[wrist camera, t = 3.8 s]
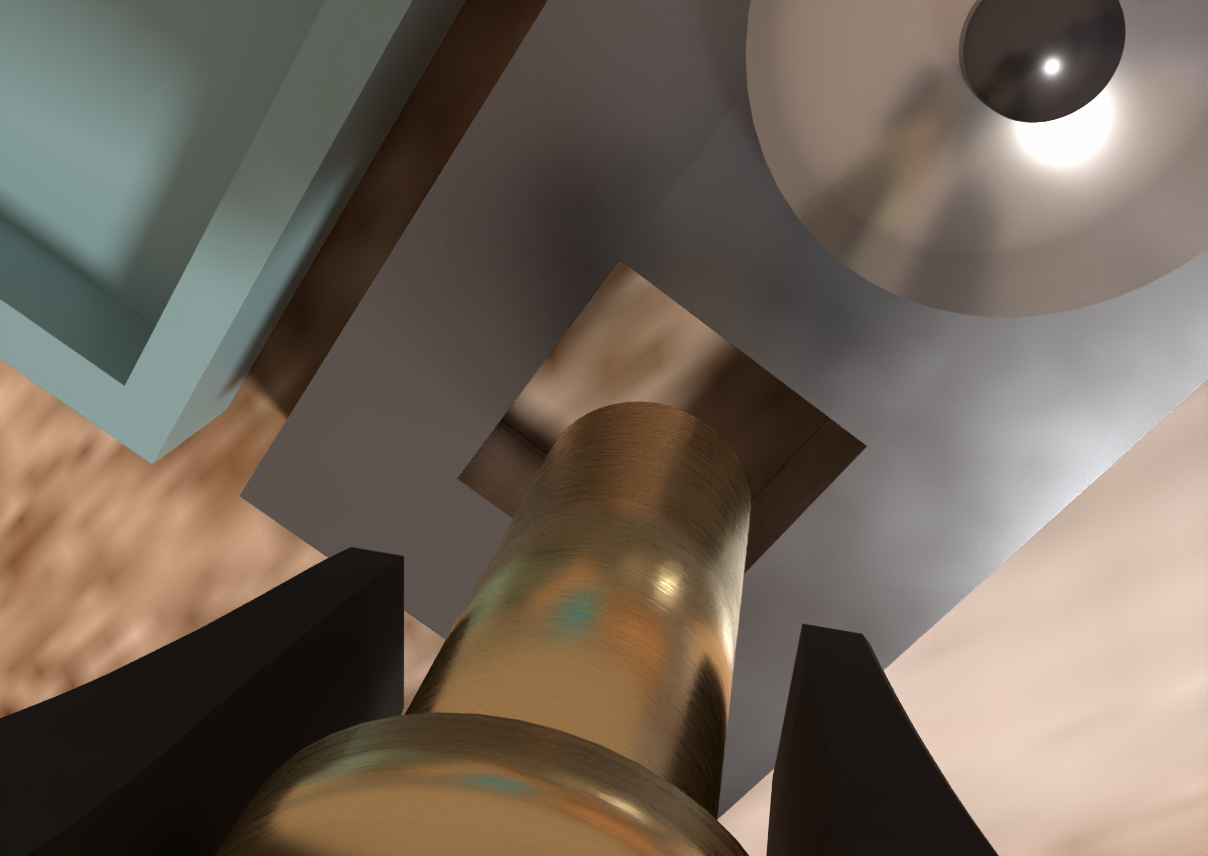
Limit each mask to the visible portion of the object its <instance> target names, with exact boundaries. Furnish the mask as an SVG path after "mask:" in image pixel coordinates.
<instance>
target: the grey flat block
mask: <svg viewBox="0 0 1208 856" xmlns="http://www.w3.org/2000/svg"><path fill="white" fill-rule="evenodd" d="M619 260H621V261H622V262H624V263H625V264H626V265H628V266H629V267H630V268H632V269H633V270H634V271H636V272H637V273H638V274H640V275H641V276H642V277H644V278H645V279H646V280H648V281H649V282H650V283H652V284H653V285H654V286H656V287H657V288H658V289H660V290H661V291H662V292H663V293H665V294H666V295H667V296H669V297H670V298H671V299H673V300H674V301H675V302H677V303H678V304H679V305H681V306H682V307H683V308H685V309H686V310H687V311H689V312H690V313H691V314H693V315H694V316H695V317H697V318H698V319H699V320H701V321H702V322H703V323H705V324H706V325H707V326H709V327H710V328H711V329H713V330H714V331H715V332H717V333H718V334H719V335H721V336H722V337H723V338H724V339H726V340H727V341H728V342H730V343H731V344H732V345H734V346H735V347H736V348H738V349H739V350H740V351H742V352H743V353H744V354H746V355H747V356H748V357H750V358H751V359H752V360H754V361H755V362H756V363H758V364H759V365H760V366H762V367H763V368H764V369H766V370H767V371H768V372H770V373H771V374H772V375H774V376H775V377H776V378H778V379H779V380H780V381H781V382H783V383H784V384H785V385H787V386H788V387H789V388H791V389H792V390H793V391H795V392H796V393H797V394H799V395H800V396H801V397H803V398H804V399H805V400H807V401H808V402H809V403H811V404H812V405H813V406H815V407H816V408H817V409H819V410H820V411H821V412H823V413H824V414H825V415H827V416H828V417H829V419H828V420H827V421H826V422H825V423H824V424H823V426H822V427H821V428H820V429H819V430H818V431H817V432H816V433H815V434H814V435H813V436H812V437H811V438H810V440H809V441H808V442H807V443H806V444H805V445H804V446H803V447H802V448H801V449H800V450H799V451H798V453H797V454H796V455H795V456H794V457H793V458H792V459H791V460H790V461H789V462H788V463H787V464H786V465H785V467H784V468H783V469H782V470H781V471H780V472H779V473H778V474H777V475H776V476H775V477H774V478H773V480H772V481H771V482H770V483H769V484H768V485H767V486H766V487H765V488H764V489H763V490H762V491H761V492H760V494H759V495H758V496H757V497H756V498H755V499H754V500H753V501H752V502H751V512H750V522H749V531H748V541H747V550H746V559H745V568H744V577H743V587H742V596H741V605H740V614H739V623H738V633H737V642H736V651H735V660H734V670H733V679H732V688H731V697H730V706H729V716H728V725H727V734H726V743H725V752H724V762H723V771H722V780H721V789H720V799H719V808H718V817H717V819H718V818H720V817H721V816H722V815H723V814H724V813H725V812H726V811H727V810H728V809H730V808H731V807H732V806H733V805H734V804H735V803H736V802H737V801H738V800H740V799H741V798H742V797H743V796H744V795H745V794H746V793H747V792H748V791H750V790H751V789H752V788H753V787H754V786H755V785H756V784H757V783H758V782H760V781H761V780H762V779H763V778H764V777H765V776H766V775H767V774H769V773H770V772H771V771H772V770H773V769H774V768H775V763H776V758H777V753H778V747H779V742H780V737H781V732H782V726H783V721H784V716H785V711H786V706H787V700H788V695H789V690H790V685H791V679H792V674H793V669H794V664H795V658H796V653H797V648H798V643H799V637H800V632H801V627H802V623H803V624H809V625H814V626H820V627H826V628H832V629H838V630H844V631H850V632H856V633H862V634H863V635H864V637H865V638H866V639H867V641H868V642H869V643H870V645H871V646H872V649H873V651H874V653H875V655H876V657H877V659H878V661H879V663H880V665H881V667H882V669H883V670H884V669H885V668H887V667H888V666H889V665H890V664H891V663H892V662H893V661H894V660H895V659H897V658H898V657H899V656H900V655H901V654H902V653H903V652H904V651H905V650H907V649H908V648H909V647H910V646H911V645H912V644H913V643H914V642H915V641H917V640H918V639H919V638H920V637H921V636H922V635H923V634H924V633H926V632H927V631H928V630H929V629H930V628H931V627H932V626H933V625H934V624H936V623H937V622H938V621H939V620H940V619H941V618H942V617H943V616H944V615H946V614H947V613H948V612H949V611H950V610H951V609H952V608H953V607H954V606H956V605H957V604H958V603H959V602H960V601H961V600H962V599H963V598H964V597H966V596H967V595H968V594H969V593H970V592H971V591H972V590H973V589H975V588H976V587H977V586H978V585H979V584H980V583H981V582H982V581H983V580H985V579H986V578H987V577H988V576H989V575H990V574H991V573H992V572H993V571H995V570H996V569H997V568H998V567H999V566H1000V565H1001V564H1002V563H1003V562H1005V561H1006V560H1007V559H1008V558H1009V557H1010V556H1011V555H1012V554H1013V553H1015V552H1016V551H1017V550H1018V549H1019V548H1020V547H1021V546H1022V545H1024V544H1025V543H1026V542H1027V541H1028V540H1029V539H1030V538H1031V537H1032V536H1034V535H1035V534H1036V533H1037V532H1038V531H1039V530H1040V529H1041V528H1042V527H1044V526H1045V525H1046V524H1047V523H1048V522H1049V521H1050V520H1051V519H1052V518H1054V517H1055V516H1056V515H1057V514H1058V513H1059V512H1060V511H1061V510H1062V509H1064V508H1065V507H1066V506H1067V505H1068V504H1069V503H1070V502H1071V501H1073V500H1074V499H1075V498H1076V497H1077V496H1078V495H1079V494H1080V493H1081V492H1083V491H1084V490H1085V489H1086V488H1087V487H1088V486H1089V485H1090V484H1091V483H1093V482H1094V481H1095V480H1096V479H1097V478H1098V477H1099V476H1100V475H1101V474H1103V473H1104V472H1105V471H1106V470H1107V469H1108V468H1109V467H1110V466H1111V465H1113V464H1114V463H1115V462H1116V461H1117V460H1118V459H1119V458H1120V457H1122V456H1123V455H1124V454H1125V453H1126V452H1127V451H1128V450H1129V449H1130V448H1132V447H1133V446H1134V445H1135V444H1136V443H1137V442H1138V441H1139V440H1140V439H1142V438H1143V437H1144V436H1145V435H1146V434H1147V433H1148V432H1149V431H1150V430H1152V429H1153V428H1154V427H1155V426H1156V425H1157V424H1158V423H1159V422H1160V421H1162V420H1163V419H1164V418H1165V417H1166V416H1167V415H1168V414H1169V413H1171V412H1172V411H1173V410H1174V409H1175V408H1176V407H1177V406H1178V405H1179V404H1181V403H1182V402H1183V401H1184V400H1185V399H1186V398H1187V397H1188V396H1189V395H1191V394H1192V393H1193V392H1194V391H1195V390H1196V389H1197V388H1198V387H1199V386H1201V385H1202V384H1203V383H1204V382H1205V381H1206V380H1207V379H1208V0H548V1H547V2H546V4H545V6H544V7H543V9H542V11H541V12H540V14H539V15H538V17H537V19H536V20H535V22H534V23H533V25H532V27H531V28H530V30H529V31H528V33H527V35H526V36H525V38H524V39H523V41H522V43H521V44H520V46H519V47H518V49H517V51H516V52H515V54H514V56H513V57H512V59H511V60H510V62H509V64H508V65H507V67H506V68H505V70H504V72H503V73H502V75H501V76H500V78H499V80H498V81H497V83H496V84H495V86H494V88H493V89H492V91H491V92H490V94H489V96H488V97H487V99H486V101H485V102H484V104H483V105H482V107H481V109H480V110H479V112H478V113H477V115H476V117H475V118H474V120H473V121H472V123H471V125H470V126H469V128H468V129H467V131H466V133H465V134H464V136H463V137H462V139H461V141H460V142H459V144H458V146H457V147H456V149H455V150H454V152H453V154H452V155H451V157H450V158H449V160H448V162H447V163H446V165H445V166H444V168H443V170H442V171H441V173H440V174H439V176H438V178H437V179H436V181H435V183H434V184H433V186H432V187H431V189H430V191H429V192H428V194H427V195H426V197H425V199H424V200H423V202H422V203H421V205H420V207H419V208H418V210H417V211H416V213H415V215H414V216H413V218H412V219H411V221H410V223H409V224H408V226H407V228H406V229H405V231H404V232H403V234H402V236H401V237H400V239H399V240H398V242H397V244H396V245H395V247H394V248H393V250H392V252H391V253H390V255H389V256H388V258H387V260H386V261H385V263H384V264H383V266H382V268H381V269H380V271H379V273H378V274H377V276H376V277H375V279H374V281H373V282H372V284H371V285H370V287H369V289H368V290H367V292H366V293H365V295H364V297H363V298H362V300H361V301H360V303H359V305H358V306H357V308H356V309H355V311H354V313H353V314H352V316H351V318H350V319H349V321H348V322H347V324H346V326H345V327H344V329H343V330H342V332H341V334H340V335H339V337H338V338H337V340H336V342H335V343H334V345H333V346H332V348H331V350H330V351H329V353H328V354H327V356H326V358H325V359H324V361H323V363H322V364H321V366H320V367H319V369H318V371H317V372H316V374H315V375H314V377H313V379H312V380H311V382H310V383H309V385H308V387H307V388H306V390H305V391H304V393H303V395H302V396H301V398H300V400H299V401H298V403H297V404H296V406H295V408H294V409H293V411H292V412H291V414H290V416H289V417H288V419H287V420H286V422H285V424H284V425H283V427H282V428H281V430H280V432H279V433H278V435H277V436H276V438H275V440H274V441H273V443H272V445H271V446H270V448H269V449H268V451H267V453H266V454H265V456H264V457H263V459H262V461H261V462H260V464H259V465H258V467H257V469H256V470H255V472H254V473H253V475H252V477H251V478H250V480H249V481H248V483H247V485H246V486H245V488H244V490H243V491H242V493H241V494H240V497H242V498H243V499H245V500H246V501H247V502H249V503H250V504H252V505H253V506H255V507H256V508H258V509H259V510H260V511H262V512H263V513H265V514H266V515H268V516H269V517H270V518H272V519H273V520H275V521H276V522H278V523H279V524H281V525H282V526H283V527H285V528H286V529H288V530H289V531H291V532H292V533H293V534H295V535H296V536H298V537H299V538H301V539H302V540H304V541H305V542H306V543H308V544H309V545H311V546H312V547H314V548H315V549H316V550H318V551H319V552H321V553H322V554H324V555H325V556H327V557H328V558H329V557H331V556H333V555H335V554H337V553H339V552H341V551H343V550H346V549H348V548H350V547H355V548H360V549H366V550H372V551H378V552H384V553H390V554H396V555H402V556H404V611H406V612H407V613H408V614H410V615H411V616H413V617H414V618H416V619H417V620H418V621H420V622H421V623H423V624H424V625H426V626H427V627H429V628H430V629H431V630H433V631H434V632H436V633H437V634H439V635H440V636H441V637H443V638H444V639H447V637H448V635H449V633H450V631H451V630H452V628H453V626H454V624H455V622H456V620H457V619H458V617H459V615H460V613H461V611H462V610H463V608H464V606H465V604H466V602H467V600H468V599H469V597H470V595H471V593H472V591H473V590H474V588H475V586H476V584H477V582H478V580H479V579H480V577H481V575H482V573H483V571H484V570H485V568H486V566H487V564H488V562H489V560H490V559H491V557H492V555H493V553H494V551H495V549H496V548H497V546H498V544H499V542H500V540H501V539H502V537H503V535H504V533H505V531H506V529H507V528H508V526H509V524H510V522H511V520H512V519H513V517H514V515H515V513H516V511H517V509H518V508H519V506H520V504H521V502H522V500H523V499H524V497H525V495H526V493H527V491H528V489H529V488H530V486H531V484H532V482H533V480H534V479H535V477H536V475H537V473H538V471H539V469H540V468H541V466H542V464H543V462H544V460H545V459H546V457H547V455H548V454H546V453H545V452H544V451H542V450H541V449H539V448H538V447H537V446H535V445H534V444H533V443H531V442H530V441H528V440H527V439H526V438H524V437H523V436H522V435H520V434H519V433H517V432H516V431H515V430H513V429H512V428H510V427H509V426H508V425H506V424H505V423H504V422H502V421H501V419H502V417H503V416H504V415H505V413H506V412H507V411H508V409H509V408H510V407H511V405H512V404H513V403H514V401H515V400H516V399H517V397H518V396H519V395H520V393H521V392H522V391H523V389H524V388H525V386H526V385H527V384H528V382H529V381H530V380H531V378H532V377H533V376H534V374H535V373H536V372H537V370H538V369H539V368H540V366H541V365H542V364H543V362H544V361H545V360H546V358H547V357H548V355H549V354H550V353H551V351H552V350H553V349H554V347H555V346H556V345H557V343H558V342H559V341H560V339H561V338H562V337H563V335H564V334H565V333H566V331H567V330H568V329H569V327H570V326H571V324H572V323H573V322H574V320H575V319H576V318H577V316H578V315H579V314H580V312H581V311H582V310H583V308H584V307H585V306H586V304H587V303H588V302H589V300H590V299H591V298H592V296H593V295H594V293H595V292H596V291H597V289H598V288H599V287H600V285H601V284H602V283H603V281H604V280H605V279H606V277H607V276H608V275H609V273H610V272H611V271H612V269H613V268H614V267H615V265H616V264H617V263H618V261H619Z"/></svg>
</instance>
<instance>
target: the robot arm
mask: <svg viewBox="0 0 1208 856" xmlns="http://www.w3.org/2000/svg"><path fill="white" fill-rule="evenodd" d="M403 708H404V556H402V555H396V554H390V553H384V552H378V551H372V550H366V549H360V548H355V547H350V548H348V549H346V550H343V551H341V552H339V553H337V554H335V555H333V556H331V557H329V558H327V559H326V560H324V561H322V562H320V563H318V564H316V565H314V566H313V567H311V568H309V569H307V570H305V571H304V572H302V573H300V574H298V575H296V576H295V577H293V578H291V579H289V580H288V581H286V582H284V583H282V584H280V585H279V586H277V587H275V588H273V589H271V590H270V591H268V592H266V593H264V594H262V595H261V596H259V597H257V598H255V599H253V600H251V601H250V602H248V603H246V604H244V605H242V606H241V607H239V608H237V609H235V610H233V611H231V612H230V613H228V614H226V615H224V616H222V617H220V618H219V619H217V620H215V621H213V622H211V623H209V624H208V625H206V626H204V627H202V628H200V629H198V630H196V631H194V632H192V633H190V634H188V635H186V636H184V637H182V638H180V639H178V640H176V641H174V642H172V643H170V644H168V645H166V646H164V647H162V648H160V649H158V650H156V651H154V652H152V653H149V654H147V655H145V656H143V657H141V658H139V659H137V660H135V661H133V662H131V663H129V664H127V665H125V666H123V667H121V668H119V669H117V670H115V671H113V672H111V673H109V674H106V675H104V676H102V677H100V678H98V679H95V680H93V681H91V682H89V683H86V684H84V685H82V686H79V687H77V688H75V689H72V690H70V691H68V692H65V693H63V694H61V695H58V696H56V697H53V698H51V699H48V700H46V701H43V702H41V703H38V704H36V705H33V706H31V707H28V708H26V709H23V710H21V711H18V712H16V713H13V714H11V715H8V716H5V717H3V718H0V856H214V854H215V853H216V851H217V850H218V848H219V847H220V845H221V844H222V842H223V841H224V839H225V838H226V836H227V835H228V833H229V832H230V831H231V829H232V828H233V826H234V825H235V823H236V822H237V820H238V819H239V817H240V816H241V814H242V813H243V811H244V810H245V808H246V807H247V806H248V804H249V803H250V801H251V800H252V798H253V797H254V795H255V794H256V792H257V791H258V789H259V788H260V787H261V786H262V785H263V784H264V783H265V781H266V780H267V779H268V778H269V777H270V776H271V775H272V774H273V773H274V772H275V771H276V770H277V768H278V767H280V766H281V765H282V764H284V763H285V762H286V761H288V760H289V759H290V758H292V757H293V756H294V755H296V754H297V753H298V752H299V751H301V750H302V749H304V748H306V747H308V746H310V745H311V744H313V743H315V742H317V741H319V740H321V739H323V738H325V737H326V736H328V735H330V734H333V733H336V732H339V731H341V730H344V729H347V728H350V727H353V726H355V725H358V724H361V723H365V722H370V721H374V720H379V719H384V718H389V717H394V716H398V715H401V713H402V711H403ZM767 856H998V854H997V853H996V851H995V850H994V849H993V847H992V846H991V844H990V843H989V842H988V840H987V839H986V837H985V836H984V835H983V833H982V832H981V830H980V829H979V828H978V826H977V825H976V823H975V822H974V821H973V819H972V818H971V816H970V815H969V813H968V812H967V810H966V809H965V807H964V806H963V804H962V803H961V801H960V800H959V798H958V797H957V795H956V794H955V792H954V791H953V789H952V788H951V786H950V785H949V783H948V781H947V780H946V778H945V777H944V775H943V773H942V772H941V770H940V769H939V767H938V765H937V764H936V762H935V761H934V759H933V757H932V756H931V754H930V753H929V751H928V749H927V748H926V746H925V745H924V743H923V741H922V740H921V738H920V736H919V735H918V733H917V731H916V729H915V728H914V726H913V724H912V723H911V721H910V719H909V717H908V715H907V714H906V712H905V710H904V708H903V706H902V705H901V703H900V701H899V699H898V697H897V696H896V694H895V692H894V690H893V688H892V686H891V684H890V682H889V681H888V679H887V677H886V675H885V673H884V671H883V669H882V667H881V665H880V663H879V661H878V659H877V657H876V655H875V653H874V651H873V649H872V646H871V645H870V643H869V642H868V641H867V639H866V638H865V637H864V635H863V634H862V633H856V632H850V631H844V630H838V629H832V628H826V627H820V626H814V625H809V624H803V623H802V627H801V632H800V637H799V643H798V648H797V653H796V658H795V664H794V669H793V674H792V679H791V685H790V690H789V695H788V700H787V706H786V711H785V716H784V721H783V726H782V732H781V737H780V742H779V747H778V753H777V758H776V763H775V768H774V774H773V780H772V792H771V804H770V817H769V829H768V842H767Z"/></svg>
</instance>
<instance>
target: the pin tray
mask: <svg viewBox="0 0 1208 856" xmlns="http://www.w3.org/2000/svg"><path fill="white" fill-rule="evenodd" d="M465 2H466V0H0V359H1V360H2V361H4V362H5V363H7V364H8V365H10V366H11V367H13V368H14V369H15V370H17V371H18V372H20V373H21V374H23V375H24V376H26V377H27V378H28V379H30V380H31V381H33V382H34V383H36V384H37V385H39V386H40V387H41V388H43V389H44V390H46V391H47V392H49V393H50V394H52V395H53V396H54V397H56V398H57V399H59V400H60V401H62V402H63V403H65V404H66V405H67V406H69V407H70V408H72V409H73V410H75V411H76V412H78V413H79V414H80V415H82V416H83V417H85V418H86V419H88V420H89V421H91V422H92V423H93V424H95V425H96V426H98V427H99V428H101V429H102V430H104V431H105V432H106V433H108V434H109V435H111V436H112V437H114V438H115V439H117V440H118V441H119V442H121V443H122V444H124V445H125V446H127V447H128V448H130V449H131V450H132V451H134V452H135V453H137V454H138V455H140V456H141V457H143V458H144V459H145V460H147V461H148V462H150V463H151V464H154V463H155V462H156V461H158V460H159V459H160V458H162V457H163V456H164V455H166V454H167V453H168V452H170V451H171V450H173V449H174V448H175V447H177V446H178V445H179V444H181V443H182V442H183V441H185V440H186V439H187V438H189V437H190V436H192V435H193V434H194V433H196V432H197V431H198V430H200V429H201V428H202V427H204V426H205V425H206V424H208V423H209V422H211V421H212V420H213V419H215V418H216V417H217V416H219V415H220V414H221V413H223V412H224V411H225V410H227V409H228V407H229V405H230V404H231V402H232V400H233V398H234V397H235V395H236V393H237V392H238V390H239V388H240V387H241V385H242V383H243V381H244V380H245V378H246V376H247V375H248V373H249V371H250V369H251V368H252V366H253V364H254V363H255V361H256V359H257V357H258V356H259V354H260V352H261V351H262V349H263V347H264V346H265V344H266V342H267V340H268V339H269V337H270V335H271V334H272V332H273V330H274V328H275V327H276V325H277V323H278V322H279V320H280V318H281V316H282V315H283V313H284V311H285V310H286V308H287V306H288V304H289V303H290V301H291V299H292V298H293V296H294V294H295V293H296V291H297V289H298V287H299V286H300V284H301V282H302V281H303V279H304V277H305V275H306V274H307V272H308V270H309V269H310V267H311V265H312V263H313V262H314V260H315V258H316V257H317V255H318V253H319V252H320V250H321V248H322V246H323V245H324V243H325V241H326V240H327V238H328V236H329V234H330V233H331V231H332V229H333V228H334V226H335V224H336V222H337V221H338V219H339V217H340V216H341V214H342V212H343V211H344V209H345V207H346V205H347V204H348V202H349V200H350V199H351V197H352V195H353V193H354V192H355V190H356V188H357V187H358V185H359V183H360V181H361V180H362V178H363V176H364V175H365V173H366V171H367V169H368V168H369V166H370V164H371V163H372V161H373V159H374V158H375V156H376V154H377V152H378V151H379V149H380V147H381V146H382V144H383V142H384V140H385V139H386V137H387V135H388V134H389V132H390V130H391V128H392V127H393V125H394V123H395V122H396V120H397V118H398V117H399V115H400V113H401V111H402V110H403V108H404V106H405V105H406V103H407V101H408V99H409V98H410V96H411V94H412V93H413V91H414V89H415V87H416V86H417V84H418V82H419V81H420V79H421V77H422V76H423V74H424V72H425V70H426V69H427V67H428V65H429V64H430V62H431V60H432V58H433V57H434V55H435V53H436V52H437V50H438V48H439V46H440V45H441V43H442V41H443V40H444V38H445V36H446V34H447V33H448V31H449V29H450V28H451V26H452V24H453V23H454V21H455V19H456V17H457V16H458V14H459V12H460V11H461V9H462V7H463V5H464V4H465Z"/></svg>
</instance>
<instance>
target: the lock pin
mask: <svg viewBox="0 0 1208 856" xmlns="http://www.w3.org/2000/svg"><path fill="white" fill-rule="evenodd" d="M750 512H751V494H750V489H749V484H748V479H747V477H746V474H745V471H744V468H743V466H742V464H741V462H740V460H739V458H738V457H737V455H736V454H735V452H734V451H733V449H732V448H731V446H730V445H729V444H728V443H727V442H726V441H725V440H724V438H723V437H722V436H721V435H720V434H719V433H718V432H716V431H715V430H714V429H713V428H712V427H710V426H709V425H708V424H706V423H705V422H703V421H702V420H700V419H699V418H697V417H695V416H693V415H691V414H689V413H687V412H685V411H683V410H680V409H677V408H674V407H671V406H667V405H663V404H658V403H650V402H625V403H618V404H612V405H609V406H606V407H602V408H599V409H597V410H595V411H592V412H590V413H588V414H586V415H585V416H583V417H581V418H580V419H578V420H576V421H575V422H574V423H573V424H572V425H570V426H569V427H568V428H567V429H566V430H565V431H564V432H563V433H562V434H561V435H560V436H559V438H558V439H557V440H556V442H555V443H554V445H553V446H552V448H551V449H550V451H549V453H548V455H547V457H546V459H545V460H544V462H543V464H542V466H541V468H540V469H539V471H538V473H537V475H536V477H535V479H534V480H533V482H532V484H531V486H530V488H529V489H528V491H527V493H526V495H525V497H524V499H523V500H522V502H521V504H520V506H519V508H518V509H517V511H516V513H515V515H514V517H513V519H512V520H511V522H510V524H509V526H508V528H507V529H506V531H505V533H504V535H503V537H502V539H501V540H500V542H499V544H498V546H497V548H496V549H495V551H494V553H493V555H492V557H491V559H490V560H489V562H488V564H487V566H486V568H485V570H484V571H483V573H482V575H481V577H480V579H479V580H478V582H477V584H476V586H475V588H474V590H473V591H472V593H471V595H470V597H469V599H468V600H467V602H466V604H465V606H464V608H463V610H462V611H461V613H460V615H459V617H458V619H457V620H456V622H455V624H454V626H453V628H452V630H451V631H450V633H449V635H448V637H447V639H446V640H445V642H444V644H443V646H442V648H441V650H440V651H439V653H438V655H437V657H436V659H435V660H434V662H433V664H432V666H431V668H430V670H429V671H428V673H427V675H426V677H425V679H424V680H423V682H422V684H421V686H420V688H419V690H418V691H417V693H416V695H415V697H414V699H413V700H412V702H411V704H410V706H409V708H408V710H407V711H406V713H405V715H398V716H394V717H389V718H384V719H379V720H374V721H370V722H365V723H361V724H358V725H355V726H353V727H350V728H347V729H344V730H341V731H339V732H336V733H333V734H330V735H328V736H326V737H325V738H323V739H321V740H319V741H317V742H315V743H313V744H311V745H310V746H308V747H306V748H304V749H302V750H301V751H299V752H298V753H297V754H296V755H294V756H293V757H292V758H290V759H289V760H288V761H286V762H285V763H284V764H282V765H281V766H280V767H278V768H277V770H276V771H275V772H274V773H273V774H272V775H271V776H270V777H269V778H268V779H267V780H266V781H265V783H264V784H263V785H262V786H261V787H260V788H259V789H258V791H257V792H256V794H255V795H254V797H253V798H252V800H251V801H250V803H249V804H248V806H247V807H246V808H245V810H244V811H243V813H242V814H241V816H240V817H239V819H238V820H237V822H236V823H235V825H234V826H233V828H232V829H231V831H230V832H229V833H228V835H227V836H226V838H225V839H224V841H223V842H222V844H221V845H220V847H219V848H218V850H217V851H216V853H215V854H214V856H749V855H748V854H747V852H746V851H745V850H744V849H743V847H742V846H741V845H740V843H739V842H738V841H737V840H736V839H735V838H734V837H733V836H732V835H731V834H730V833H729V832H728V831H727V830H726V829H725V828H724V827H723V826H722V825H721V824H720V823H719V822H718V821H717V817H718V808H719V799H720V789H721V780H722V771H723V762H724V752H725V743H726V734H727V725H728V716H729V706H730V697H731V688H732V679H733V670H734V660H735V651H736V642H737V633H738V623H739V614H740V605H741V596H742V587H743V577H744V568H745V559H746V550H747V541H748V531H749V522H750Z"/></svg>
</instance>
